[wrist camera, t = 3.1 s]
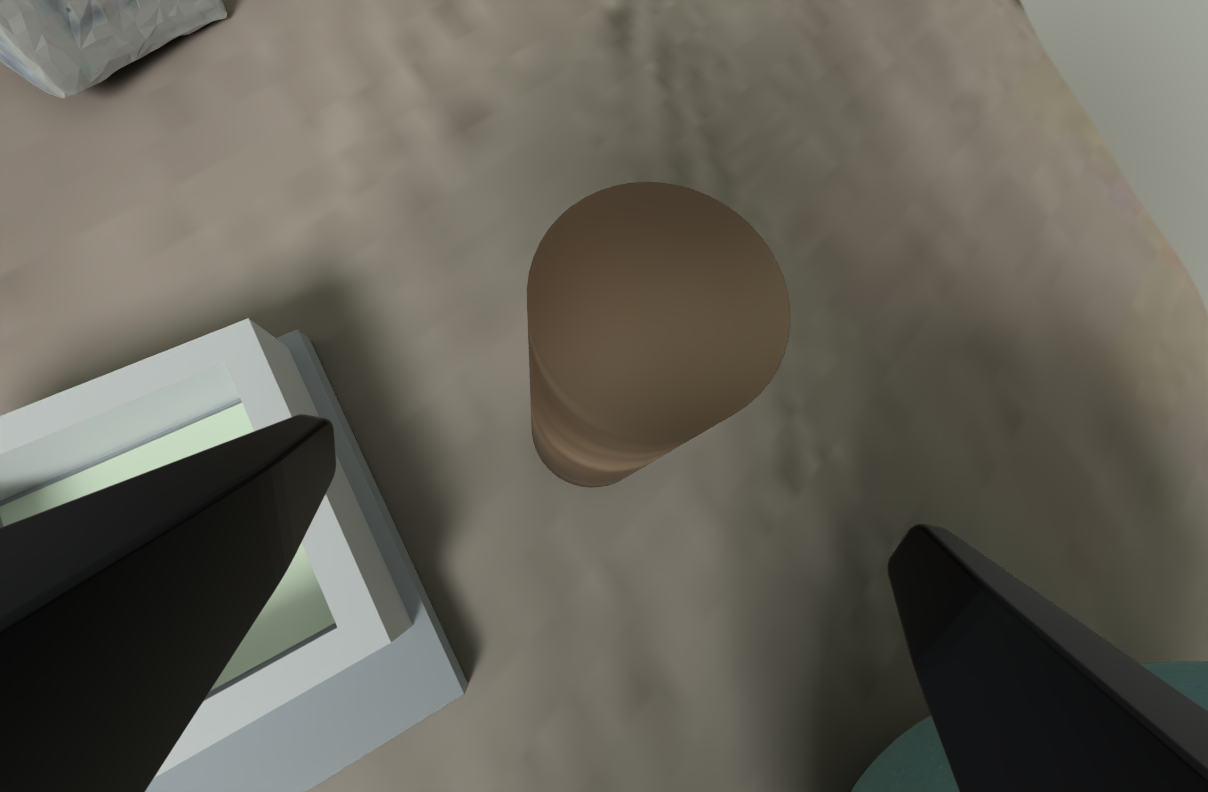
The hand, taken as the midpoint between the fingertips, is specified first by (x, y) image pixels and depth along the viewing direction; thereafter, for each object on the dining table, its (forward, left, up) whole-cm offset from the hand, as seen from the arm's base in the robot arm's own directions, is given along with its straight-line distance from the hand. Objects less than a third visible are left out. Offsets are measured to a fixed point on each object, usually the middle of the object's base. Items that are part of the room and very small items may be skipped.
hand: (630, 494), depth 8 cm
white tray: (+3, +11, -11) cm, 16 cm away
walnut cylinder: (+2, -2, -11) cm, 11 cm away
